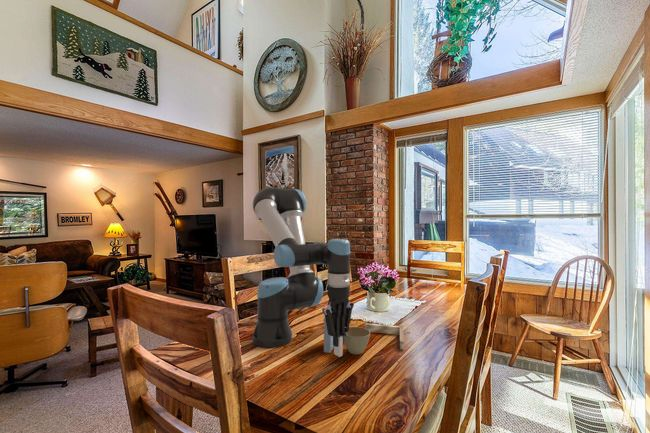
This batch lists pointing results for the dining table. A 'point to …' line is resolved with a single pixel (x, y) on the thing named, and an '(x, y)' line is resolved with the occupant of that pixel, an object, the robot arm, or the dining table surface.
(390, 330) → the l-shaped bracket
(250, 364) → the dining table surface
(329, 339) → the pale blue rectangular prism
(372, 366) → the dining table surface
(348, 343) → the flower pot
